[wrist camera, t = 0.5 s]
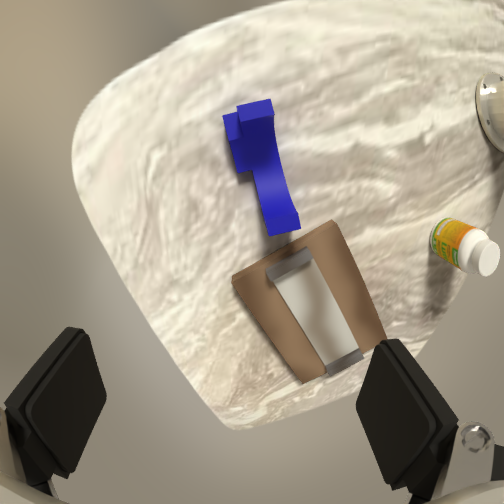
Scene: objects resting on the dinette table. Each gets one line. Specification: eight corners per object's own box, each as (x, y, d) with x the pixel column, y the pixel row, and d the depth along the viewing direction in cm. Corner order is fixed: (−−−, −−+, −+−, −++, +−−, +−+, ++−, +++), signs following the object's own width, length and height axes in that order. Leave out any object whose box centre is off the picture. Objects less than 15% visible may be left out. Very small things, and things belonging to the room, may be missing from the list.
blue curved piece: (224, 119, 29) (219, 110, 23) (265, 110, 28) (270, 98, 23) (251, 225, 32) (252, 240, 26) (291, 216, 32) (301, 228, 26)
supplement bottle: (422, 236, 33) (468, 261, 23) (447, 208, 32) (496, 225, 22) (439, 263, 34) (482, 292, 25) (462, 236, 33) (508, 259, 23)
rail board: (331, 219, 32) (340, 226, 29) (382, 331, 37) (391, 345, 33) (232, 275, 34) (230, 288, 30) (300, 374, 39) (304, 391, 35)
